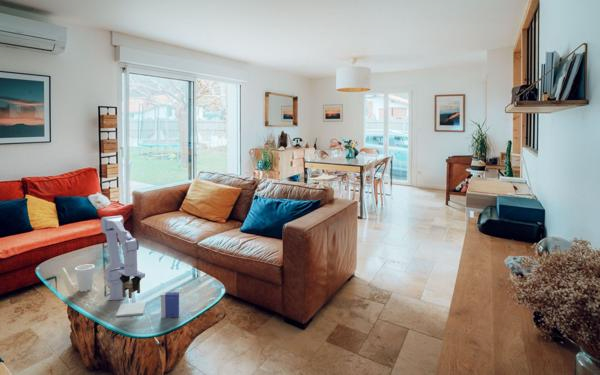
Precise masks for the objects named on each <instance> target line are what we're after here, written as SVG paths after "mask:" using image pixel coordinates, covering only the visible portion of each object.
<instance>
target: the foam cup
mask: <svg viewBox="0 0 600 375" xmlns="http://www.w3.org/2000/svg"><path fill="white" fill-rule="evenodd" d="M95 270H96V266H95V264H93V263H91V264H89V263H88V264H80V265H78V266H76V267H74V273H75V278H76V282H77V287H78V291H79V290H80V291H79V292H81V291H85V292H88V291H87V290H89V291H91V290H93V288H94V286H93V285H94V276H95Z"/></svg>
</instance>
